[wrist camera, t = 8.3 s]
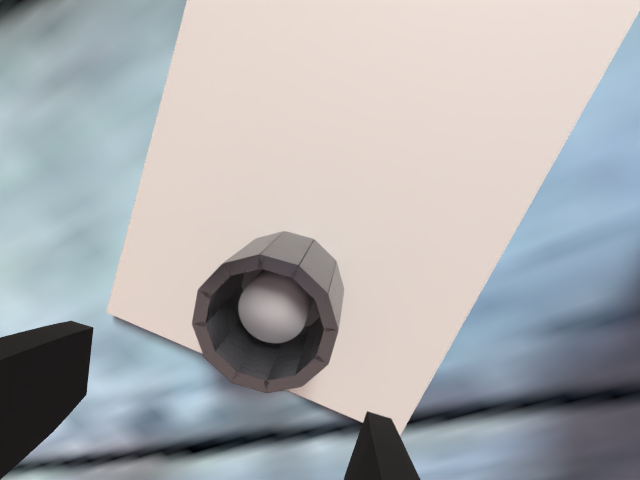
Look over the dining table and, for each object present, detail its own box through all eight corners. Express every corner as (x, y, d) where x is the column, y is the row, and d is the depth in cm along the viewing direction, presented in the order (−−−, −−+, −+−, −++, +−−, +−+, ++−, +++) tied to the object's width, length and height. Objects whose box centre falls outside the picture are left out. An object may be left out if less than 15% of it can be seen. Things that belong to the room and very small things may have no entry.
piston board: (687, -97, 12) (800, -186, 9) (397, 426, 18) (404, 482, 15) (268, -261, 13) (236, -401, 10) (116, 306, 19) (66, 336, 16)
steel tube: (355, 250, 16) (353, 280, 12) (326, 351, 17) (315, 408, 13) (244, 219, 16) (206, 239, 12) (223, 320, 17) (183, 368, 13)
